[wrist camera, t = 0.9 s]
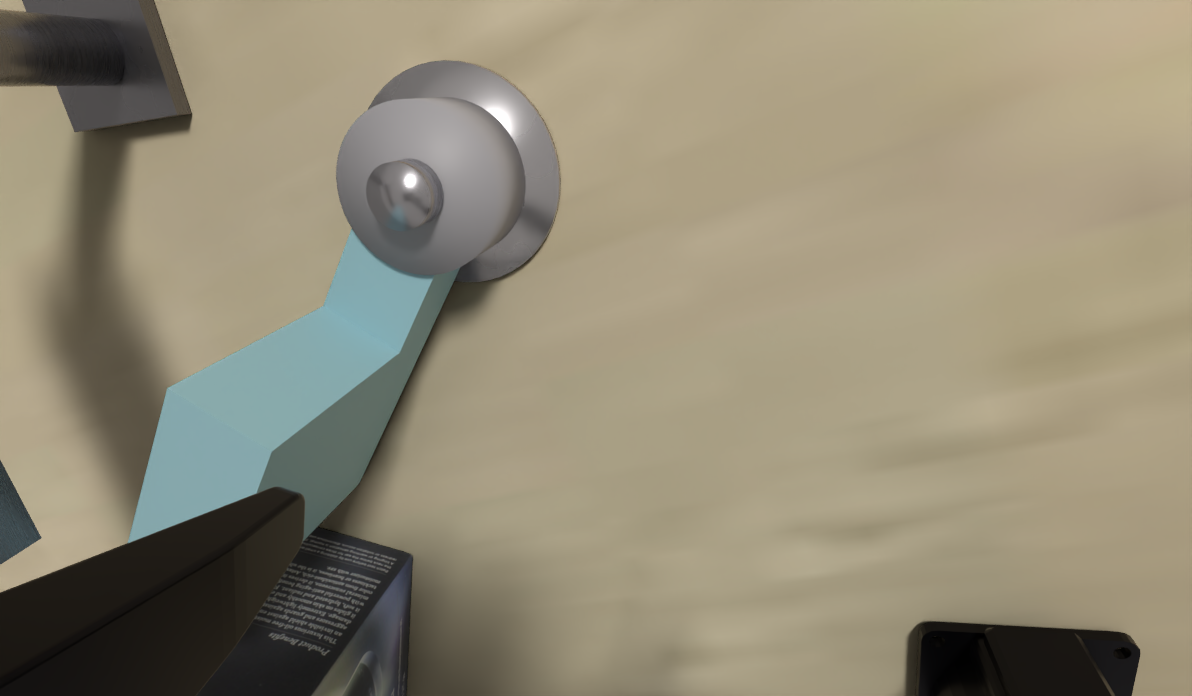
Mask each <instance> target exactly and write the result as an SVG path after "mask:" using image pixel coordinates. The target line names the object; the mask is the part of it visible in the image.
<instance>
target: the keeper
mask: <svg viewBox="0 0 1192 696" xmlns="http://www.w3.org/2000/svg"><path fill="white" fill-rule="evenodd" d="M22 1H23V4H24V6H25V9H26V11H27V12H22V11H11V10H1V9H0V86H57V89H58V91H59V94H60V96H61V99H62V101H63V104H64V106H65V109H66V111H67V114H68V116H69V119H70V121H71V124H72V126H73V129H74V131H75V132H81V131H92V130H98V129H104V128H110V127H116V126H122V125H128V124H134V123H140V122H146V121H152V120H158V119H164V118H170V117H176V116H182V115H187V114H191V111H190V108H189V105H188V102H187V99H186V96H185V93H184V90H183V87H182V84H181V81H180V78H179V75H178V72H177V69H176V66H175V63H174V60H173V57H172V54H171V51H170V48H169V45H168V42H167V39H166V36H165V33H164V30H163V27H162V24H161V21H160V18H159V15H158V12H157V9H156V7H155V4H154V1H153V0H22ZM39 539H41V536H40V534H39V532H38V531H37V529H36V527H35V525H34V523H33V521H32V519H31V517H30V515H29V514H28V512H27V510H26V508H25V506H24V504H23V502H22V500H21V498H20V497H19V495H18V493H17V491H16V489H15V487H14V485H13V483H12V481H11V480H10V478H9V476H8V474H7V472H6V470H5V468H4V466H3V464H2V462H1V461H0V564H2V563H3V562H5V561H7V560H8V559H10V558H11V557H13V556H14V555H16V554H17V553H19V552H21V551H22V550H24V549H25V548H27V547H28V546H30V545H31V544H33V543H35V542H36V541H38V540H39Z"/></svg>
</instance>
